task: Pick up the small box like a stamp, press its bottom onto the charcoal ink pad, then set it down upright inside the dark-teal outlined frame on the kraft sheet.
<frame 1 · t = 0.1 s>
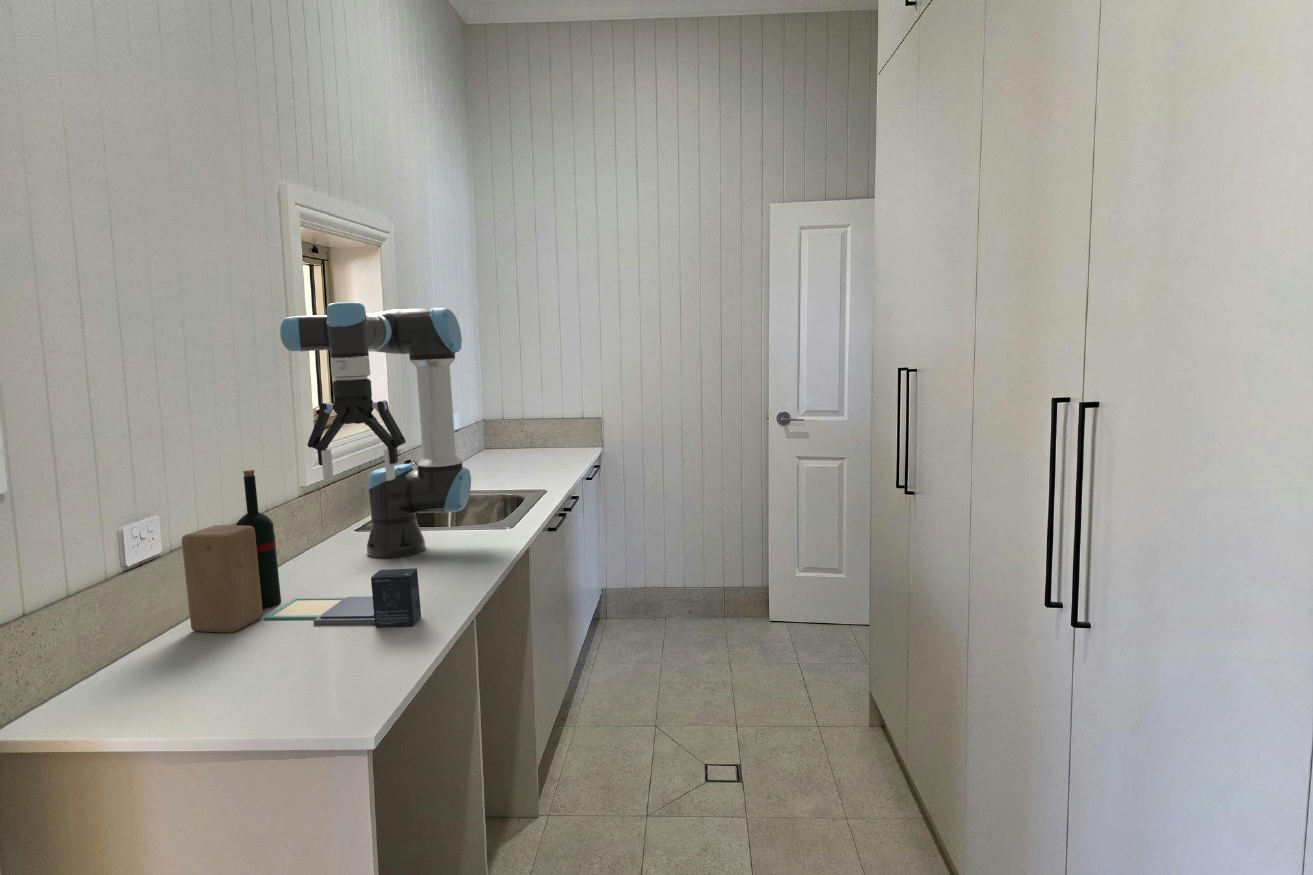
hand: (359, 480, 178), 28 cm above the table, fingers open, 13 cm apart
ink pad: (360, 612, 180), on the table
wooden block: (228, 626, 175), on the table
print frame: (311, 609, 183), on the table
box: (398, 623, 173), on the table
wine bottle: (264, 604, 189), on the table
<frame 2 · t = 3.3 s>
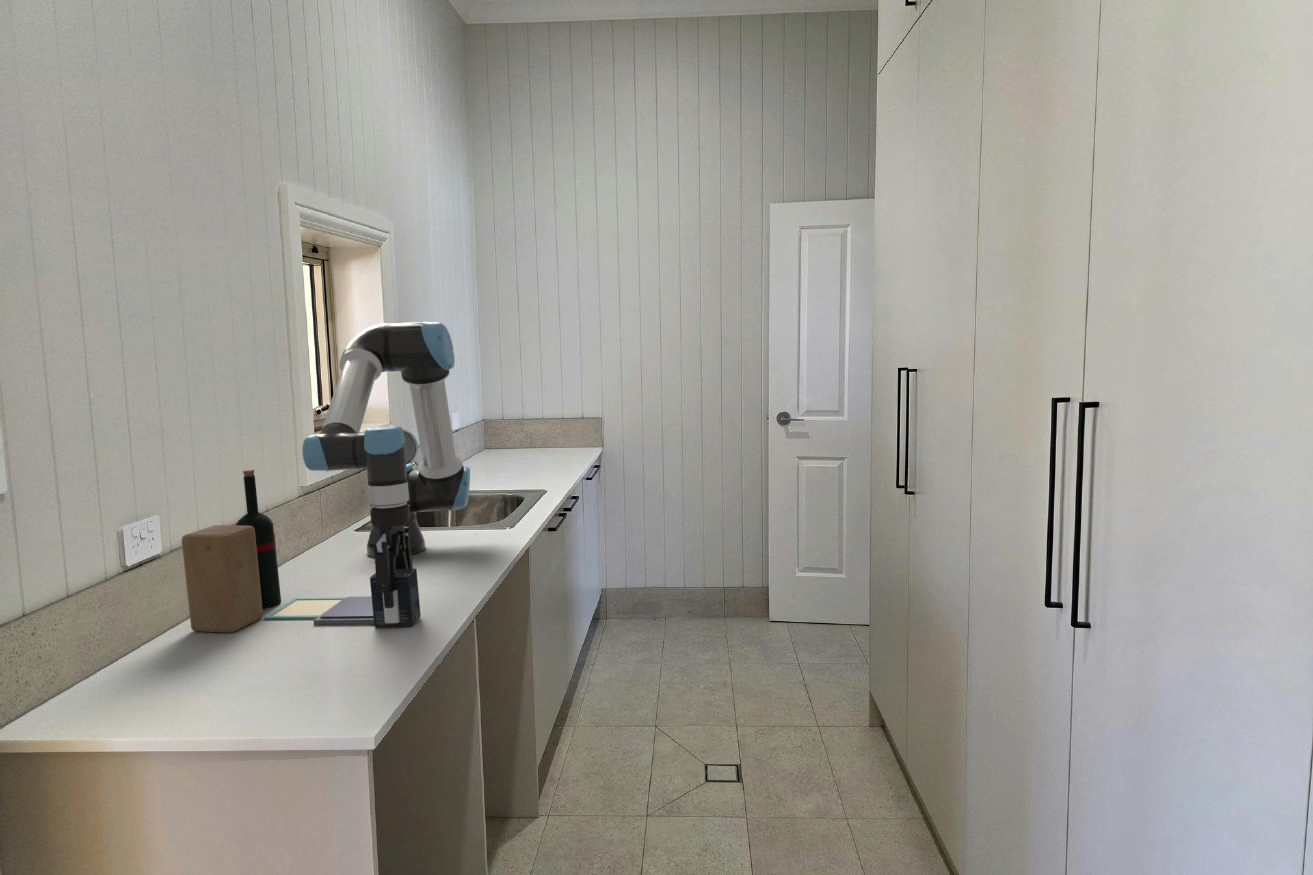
hand: (398, 616, 172), 1 cm above the table, fingers closed on box, 6 cm apart
box: (397, 623, 172), on the table, touching gripper
everything else where it was.
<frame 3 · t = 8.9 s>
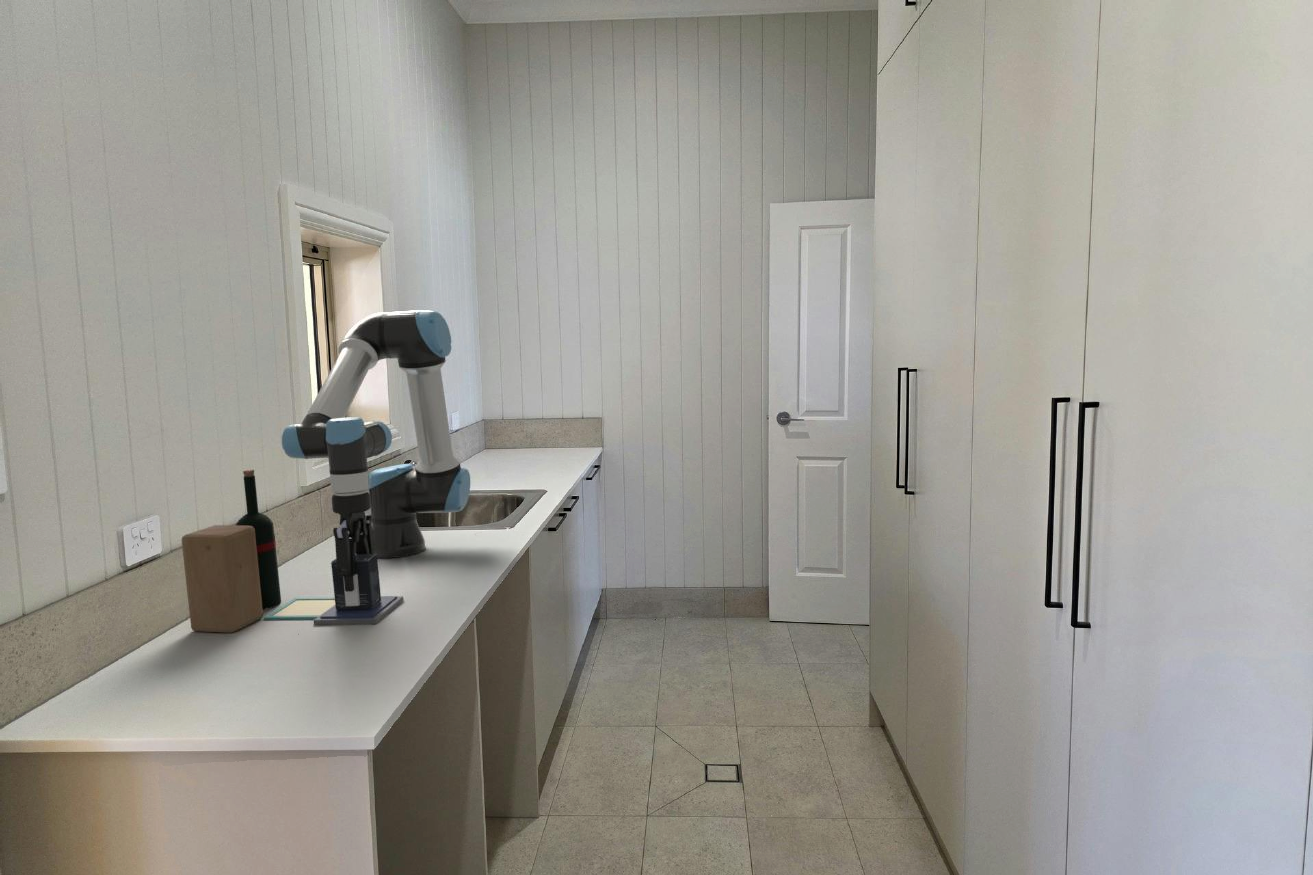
hand: (359, 600, 180), 3 cm above the table, fingers closed on box, 6 cm apart
box: (358, 606, 180), point 1 cm above the table, touching gripper, ink pad
everything else where it was.
when the fingers open (2 cm above the table, at t = 14.3 s): box stays where it is, resting on print frame.
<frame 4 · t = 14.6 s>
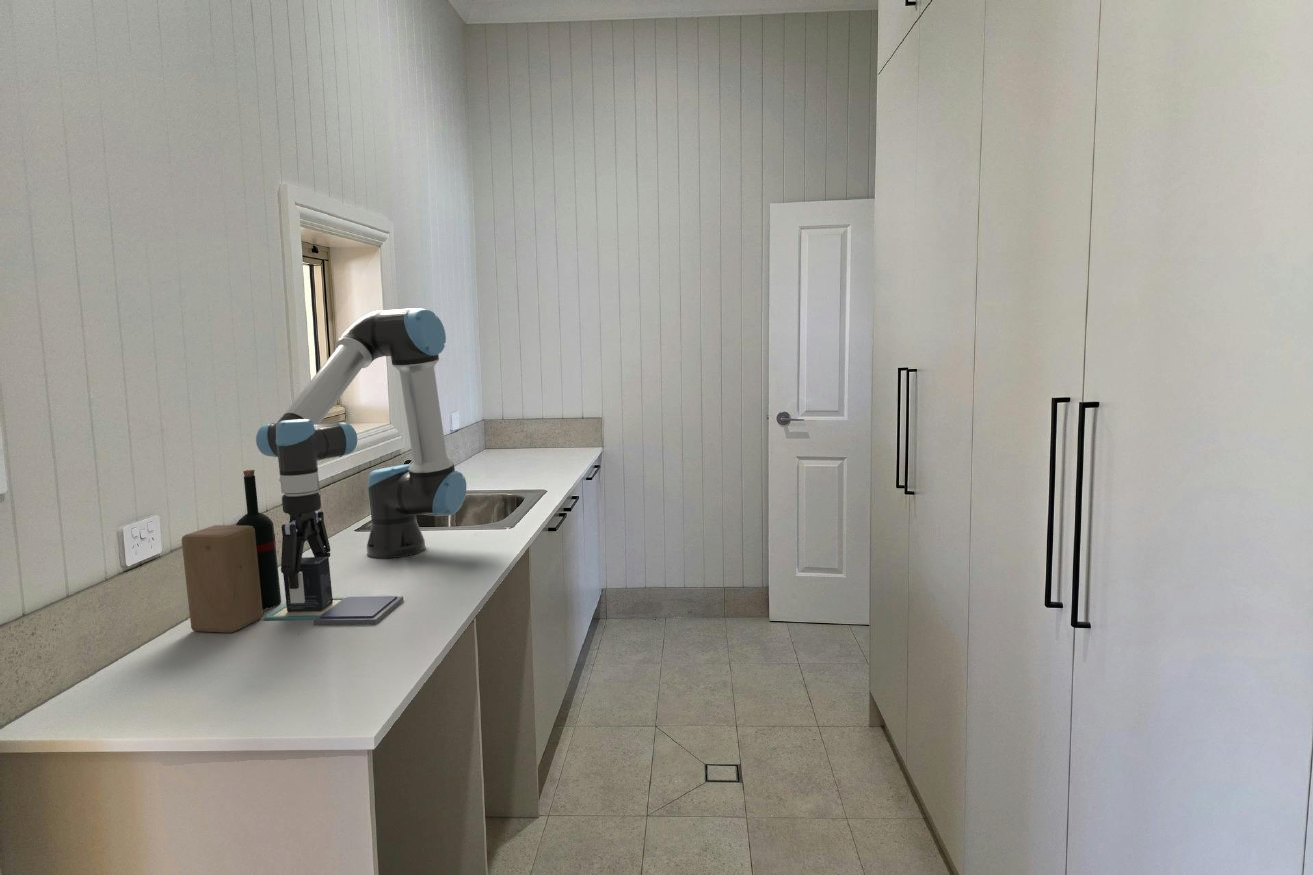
hand: (310, 594, 183), 3 cm above the table, fingers open, 10 cm apart
box: (310, 608, 184), resting on print frame
everything else where it was.
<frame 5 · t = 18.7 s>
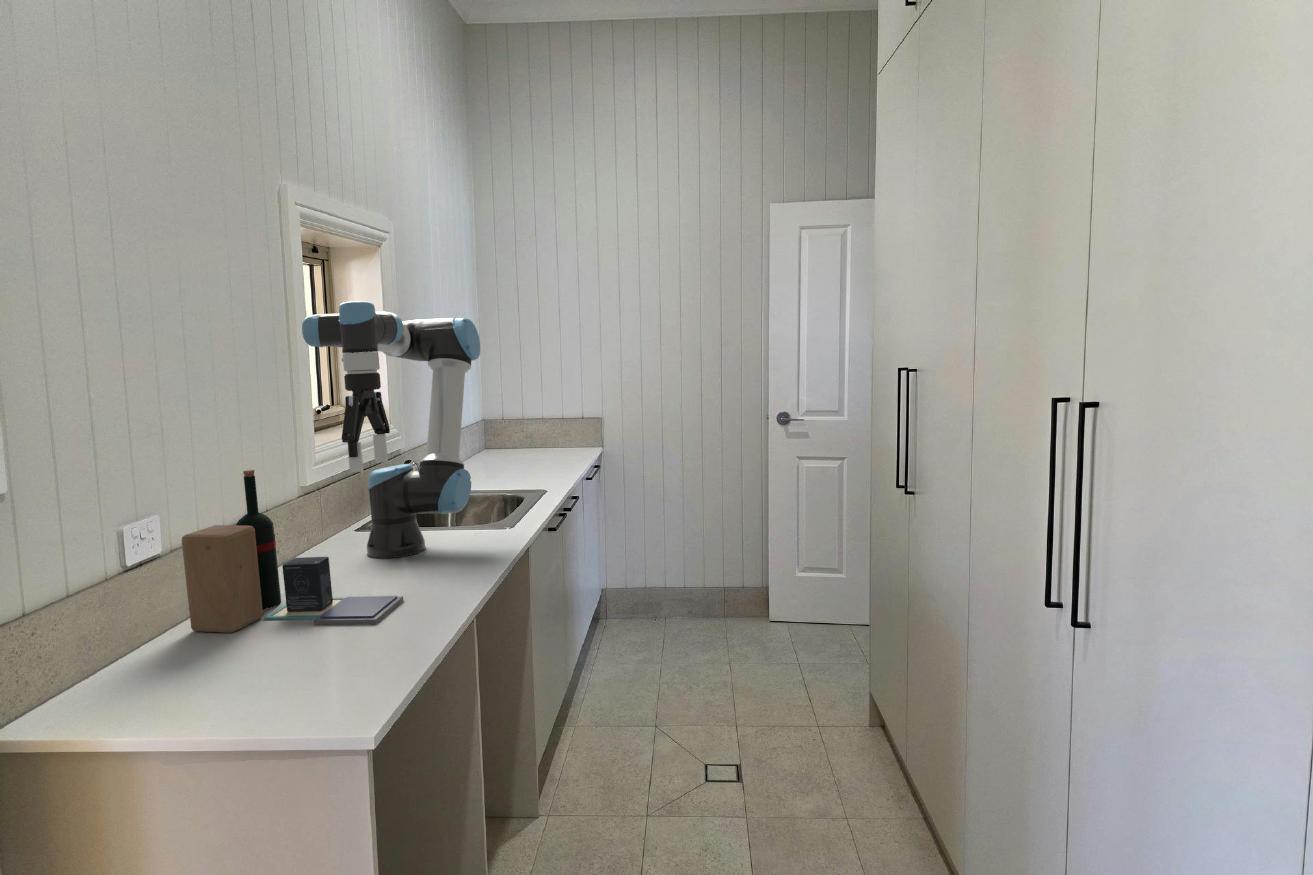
hand: (369, 467, 191), 29 cm above the table, fingers open, 13 cm apart
nothing on the table moved.
at the end: box inside the target area on the print frame (0.3 cm from its centre), point 0.1 cm above the print frame's base; box tilted 0°; the gripper is holding nothing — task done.
